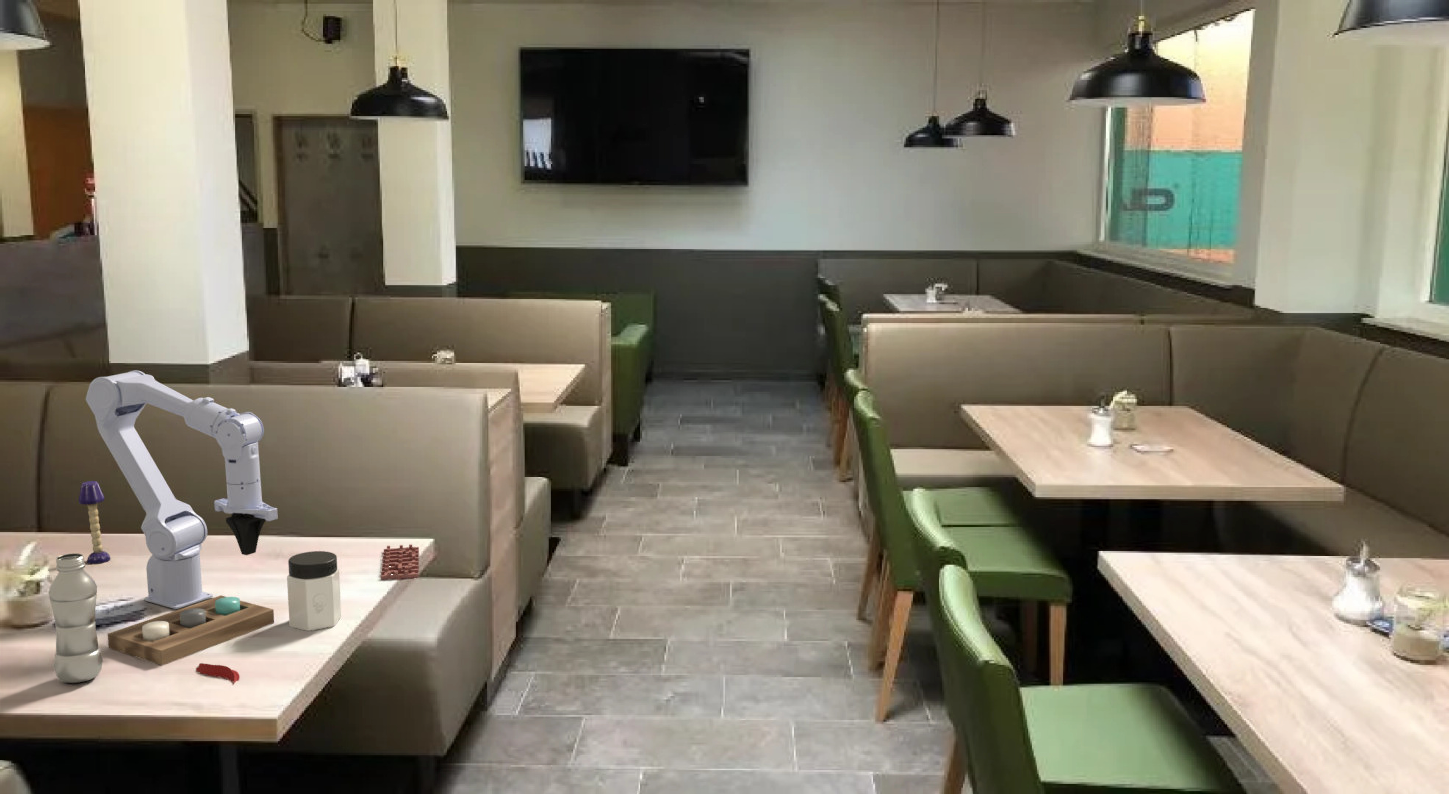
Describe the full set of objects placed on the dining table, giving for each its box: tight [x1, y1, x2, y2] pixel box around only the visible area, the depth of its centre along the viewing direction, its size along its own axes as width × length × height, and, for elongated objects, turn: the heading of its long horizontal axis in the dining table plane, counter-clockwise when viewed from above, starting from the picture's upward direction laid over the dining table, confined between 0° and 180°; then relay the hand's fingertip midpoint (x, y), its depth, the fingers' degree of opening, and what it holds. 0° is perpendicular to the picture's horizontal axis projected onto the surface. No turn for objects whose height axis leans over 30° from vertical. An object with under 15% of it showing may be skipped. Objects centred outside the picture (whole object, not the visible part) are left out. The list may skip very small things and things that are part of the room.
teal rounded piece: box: [215, 596, 241, 616], centre depth 205 cm, size 4×4×3 cm
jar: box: [286, 550, 342, 632], centre depth 205 cm, size 9×8×12 cm
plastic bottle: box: [48, 552, 104, 684], centre depth 179 cm, size 6×7×20 cm
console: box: [107, 594, 275, 666], centre depth 199 cm, size 14×22×2 cm, turn 151°
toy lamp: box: [78, 480, 111, 565], centre depth 236 cm, size 5×5×17 cm
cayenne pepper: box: [195, 662, 240, 686], centre depth 184 cm, size 12×5×2 cm, turn 41°
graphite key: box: [180, 609, 206, 629], centre depth 199 cm, size 4×4×3 cm
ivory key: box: [142, 621, 170, 642], centre depth 193 cm, size 4×4×3 cm
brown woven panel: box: [380, 543, 420, 581], centre depth 238 cm, size 7×19×2 cm, turn 14°
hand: (248, 553), depth 211 cm, fingers closed
